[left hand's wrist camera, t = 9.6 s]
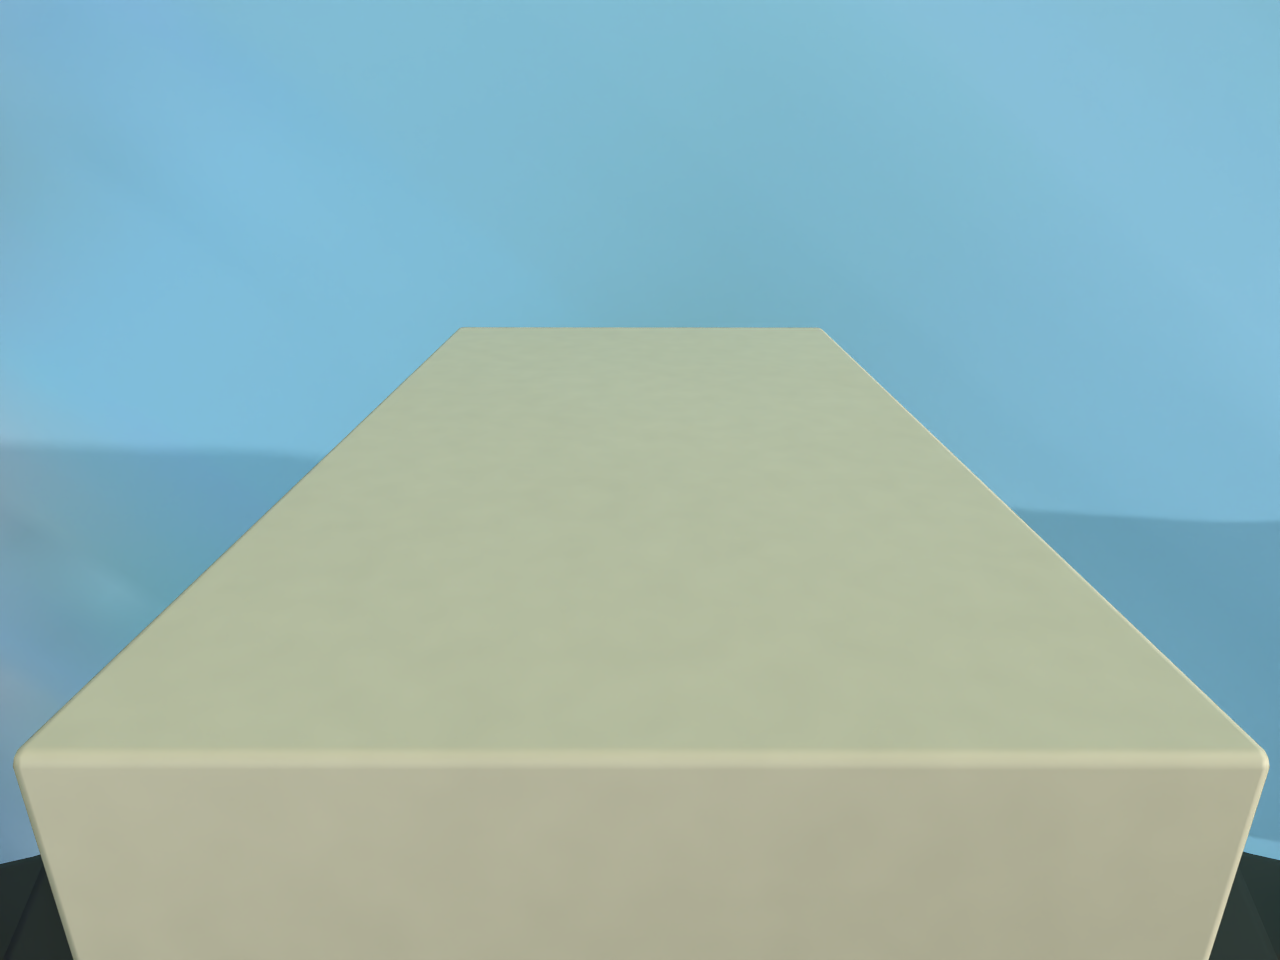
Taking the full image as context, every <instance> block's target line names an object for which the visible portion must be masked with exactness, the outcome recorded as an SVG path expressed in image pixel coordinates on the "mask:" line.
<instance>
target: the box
mask: <svg viewBox="0 0 1280 960" xmlns="http://www.w3.org/2000/svg"><path fill="white" fill-rule="evenodd" d="M13 768H14V771H15V774H16V778H17V781H18V784H19V787H20V790H21V794H22V797H23V800H24V803H25V806H26V810H27V813H28V816H29V819H30V822H31V826H32V829H33V832H34V835H35V838H36V842H37V845H38V848H39V851H40V854H41V857H42V861H43V864H44V867H45V870H46V873H47V877H48V880H49V883H50V886H51V889H52V893H53V896H54V899H55V902H56V905H57V909H58V912H59V915H60V918H61V921H62V925H63V928H64V931H65V934H66V937H67V940H68V944H69V947H70V950H71V953H72V956H73V960H1209V957H1210V953H1211V950H1212V947H1213V944H1214V941H1215V938H1216V935H1217V931H1218V928H1219V925H1220V922H1221V919H1222V916H1223V912H1224V909H1225V906H1226V903H1227V900H1228V897H1229V894H1230V890H1231V887H1232V884H1233V881H1234V878H1235V875H1236V871H1237V868H1238V865H1239V862H1240V859H1241V856H1242V853H1243V849H1244V846H1245V843H1246V840H1247V837H1248V834H1249V831H1250V827H1251V824H1252V821H1253V818H1254V815H1255V812H1256V808H1257V805H1258V802H1259V799H1260V796H1261V793H1262V790H1263V786H1264V783H1265V780H1266V777H1267V774H1268V771H1269V759H1268V757H1267V755H1266V752H1265V750H1263V749H1262V748H1261V747H1260V746H1259V745H1258V744H1257V743H1256V742H1255V741H1254V740H1253V739H1252V738H1251V737H1250V736H1249V735H1248V734H1247V733H1246V732H1245V731H1244V730H1242V729H1241V728H1240V727H1239V726H1238V725H1237V724H1236V723H1235V722H1234V721H1233V720H1232V719H1231V718H1230V717H1229V716H1228V715H1227V714H1226V713H1225V712H1224V711H1222V710H1221V709H1220V708H1219V707H1218V706H1217V705H1216V704H1215V703H1214V702H1213V701H1212V700H1211V699H1210V698H1209V697H1208V696H1207V695H1206V694H1205V693H1204V692H1203V691H1201V690H1200V689H1199V688H1198V687H1197V686H1196V685H1195V684H1194V683H1193V682H1192V681H1191V680H1190V679H1189V678H1188V677H1187V676H1186V675H1185V674H1184V673H1183V672H1181V671H1180V670H1179V669H1178V668H1177V667H1176V666H1175V665H1174V664H1173V663H1172V662H1171V661H1170V660H1169V659H1168V658H1167V657H1166V656H1165V655H1164V654H1163V653H1162V652H1160V651H1159V650H1158V649H1157V648H1156V647H1155V646H1154V645H1153V644H1152V643H1151V642H1150V641H1149V640H1148V639H1147V638H1146V637H1145V636H1144V635H1143V634H1142V633H1140V632H1139V631H1138V630H1137V629H1136V628H1135V627H1134V626H1133V625H1132V624H1131V623H1130V622H1129V621H1128V620H1127V619H1126V618H1125V617H1124V616H1123V615H1122V614H1121V613H1119V612H1118V611H1117V610H1116V609H1115V608H1114V607H1113V606H1112V605H1111V604H1110V603H1109V602H1108V601H1107V600H1106V599H1105V598H1104V597H1103V596H1102V595H1101V594H1099V593H1098V592H1097V591H1096V590H1095V589H1094V588H1093V587H1092V586H1091V585H1090V584H1089V583H1088V582H1087V581H1086V580H1085V579H1084V578H1083V577H1082V576H1081V575H1080V574H1078V573H1077V572H1076V571H1075V570H1074V569H1073V568H1072V567H1071V566H1070V565H1069V564H1068V563H1067V562H1066V561H1065V560H1064V559H1063V558H1062V557H1061V556H1060V555H1058V554H1057V553H1056V552H1055V551H1054V550H1053V549H1052V548H1051V547H1050V546H1049V545H1048V544H1047V543H1046V542H1045V541H1044V540H1043V539H1042V538H1041V537H1040V536H1039V535H1037V534H1036V533H1035V532H1034V531H1033V530H1032V529H1031V528H1030V527H1029V526H1028V525H1027V524H1026V523H1025V522H1024V521H1023V520H1022V519H1021V518H1020V517H1019V516H1017V515H1016V514H1015V513H1014V512H1013V511H1012V510H1011V509H1010V508H1009V507H1008V506H1007V505H1006V504H1005V503H1004V502H1003V501H1002V500H1001V499H1000V498H999V497H998V496H996V495H995V494H994V493H993V492H992V491H991V490H990V489H989V488H988V487H987V486H986V485H985V484H984V483H983V482H982V481H981V480H980V479H979V478H978V477H976V476H975V475H974V474H973V473H972V472H971V471H970V470H969V469H968V468H967V467H966V466H965V465H964V464H963V463H962V462H961V461H960V460H959V459H958V458H957V457H955V456H954V455H953V454H952V453H951V452H950V451H949V450H948V449H947V448H946V447H945V446H944V445H943V444H942V443H941V442H940V441H939V440H938V439H937V438H935V437H934V436H933V435H932V434H931V433H930V432H929V431H928V430H927V429H926V428H925V427H924V426H923V425H922V424H921V423H920V422H919V421H918V420H917V419H916V418H914V417H913V416H912V415H911V414H910V413H909V412H908V411H907V410H906V409H905V408H904V407H903V406H902V405H901V404H900V403H899V402H898V401H897V400H896V399H894V398H893V397H892V396H891V395H890V394H889V393H888V392H887V391H886V390H885V389H884V388H883V387H882V386H881V385H880V384H879V383H878V382H877V381H876V380H875V379H873V378H872V377H871V376H870V375H869V374H868V373H867V372H866V371H865V370H864V369H863V368H862V367H861V366H860V365H859V364H858V363H857V362H856V361H855V360H853V359H852V358H851V357H850V356H849V355H848V354H847V353H846V352H845V351H844V350H843V349H842V348H841V347H840V346H839V345H838V344H837V343H836V342H835V341H834V340H832V339H831V338H830V337H829V336H828V335H827V334H826V333H825V332H824V331H823V330H822V329H820V328H538V327H462V328H460V329H458V330H457V331H456V332H455V333H454V334H453V335H452V336H451V337H450V338H449V339H448V340H447V341H446V342H445V343H444V344H443V345H442V346H440V347H439V348H438V349H437V350H436V351H435V352H434V353H433V354H432V355H431V356H430V357H429V358H428V359H427V360H426V361H425V362H424V363H423V364H422V365H421V366H419V367H418V368H417V369H416V370H415V371H414V372H413V373H412V374H411V375H410V376H409V377H408V378H407V379H406V380H405V381H404V382H403V383H402V384H401V385H400V386H399V387H397V388H396V389H395V390H394V391H393V392H392V393H391V394H390V395H389V396H388V397H387V398H386V399H385V400H384V401H383V402H382V403H381V404H380V405H379V406H378V407H377V408H375V409H374V410H373V411H372V412H371V413H370V414H369V415H368V416H367V417H366V418H365V419H364V420H363V421H362V422H361V423H360V424H359V425H358V426H357V427H356V428H355V429H353V430H352V431H351V432H350V433H349V434H348V435H347V436H346V437H345V438H344V439H343V440H342V441H341V442H340V443H339V444H338V445H337V446H336V447H335V448H334V449H332V450H331V451H330V452H329V453H328V454H327V455H326V456H325V457H324V458H323V459H322V460H321V461H320V462H319V463H318V464H317V465H316V466H315V467H314V468H313V469H312V470H310V471H309V472H308V473H307V474H306V475H305V476H304V477H303V478H302V479H301V480H300V481H299V482H298V483H297V484H296V485H295V486H294V487H293V488H292V489H291V490H290V491H288V492H287V493H286V494H285V495H284V496H283V497H282V498H281V499H280V500H279V501H278V502H277V503H276V504H275V505H274V506H273V507H272V508H271V509H270V510H269V511H267V512H266V513H265V514H264V515H263V516H262V517H261V518H260V519H259V520H258V521H257V522H256V523H255V524H254V525H253V526H252V527H251V528H250V529H249V530H248V531H247V532H245V533H244V534H243V535H242V536H241V537H240V538H239V539H238V540H237V541H236V542H235V543H234V544H233V545H232V546H231V547H230V548H229V549H228V550H227V551H226V552H225V553H223V554H222V555H221V556H220V557H219V558H218V559H217V560H216V561H215V562H214V563H213V564H212V565H211V566H210V567H209V568H208V569H207V570H206V571H205V572H204V573H203V574H201V575H200V576H199V577H198V578H197V579H196V580H195V581H194V582H193V583H192V584H191V585H190V586H189V587H188V588H187V589H186V590H185V591H184V592H183V593H182V594H180V595H179V596H178V597H177V598H176V599H175V600H174V601H173V602H172V603H171V604H170V605H169V606H168V607H167V608H166V609H165V610H164V611H163V612H162V613H161V614H160V615H158V616H157V617H156V618H155V619H154V620H153V621H152V622H151V623H150V624H149V625H148V626H147V627H146V628H145V629H144V630H143V631H142V632H141V633H140V634H139V635H138V636H136V637H135V638H134V639H133V640H132V641H131V642H130V643H129V644H128V645H127V646H126V647H125V648H124V649H123V650H122V651H121V652H120V653H119V654H118V655H117V656H116V657H114V658H113V659H112V660H111V661H110V662H109V663H108V664H107V665H106V666H105V667H104V668H103V669H102V670H101V671H100V672H99V673H98V674H97V675H96V676H95V677H93V678H92V679H91V680H90V681H89V682H88V683H87V684H86V685H85V686H84V687H83V688H82V689H81V690H80V691H79V692H78V693H77V694H76V695H75V696H74V697H73V698H71V699H70V700H69V701H68V702H67V703H66V704H65V705H64V706H63V707H62V708H61V709H60V710H59V711H58V712H57V713H56V714H55V715H54V716H53V717H52V718H51V719H49V720H48V721H47V722H46V723H45V724H44V725H43V726H42V727H41V728H40V729H39V730H38V731H37V732H36V733H35V734H34V735H33V736H32V737H31V738H30V739H28V740H27V741H26V742H25V743H24V744H23V745H22V746H21V747H20V748H19V749H18V750H17V753H16V755H15V757H14V763H13Z"/></svg>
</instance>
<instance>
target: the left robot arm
mask: <svg viewBox="0 0 1280 960" xmlns="http://www.w3.org/2000/svg"><path fill="white" fill-rule="evenodd" d="M0 960H73V956H72V953H71V950H70V947H69V944H68V940H67V937H66V934H65V931H64V928H63V925H62V921H61V918H60V915H59V912H58V909H57V905H56V902H55V899H54V896H53V893H52V889H51V886H50V883H49V880H48V877H47V873H46V870H45V867H44V864H43V861H42V857H41V855H37V856H34V857H30V858H26V859H21V860H17V861H12V862H8V863H3V864H0ZM1209 960H1280V860H1276V859H1271V858H1267V857H1262V856H1258V855H1253V854H1249V853H1246V852H1243V853H1242V856H1241V859H1240V862H1239V865H1238V868H1237V871H1236V875H1235V878H1234V881H1233V884H1232V887H1231V890H1230V894H1229V897H1228V900H1227V903H1226V906H1225V909H1224V912H1223V916H1222V919H1221V922H1220V925H1219V928H1218V931H1217V935H1216V938H1215V941H1214V944H1213V947H1212V950H1211V953H1210V957H1209Z"/></svg>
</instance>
